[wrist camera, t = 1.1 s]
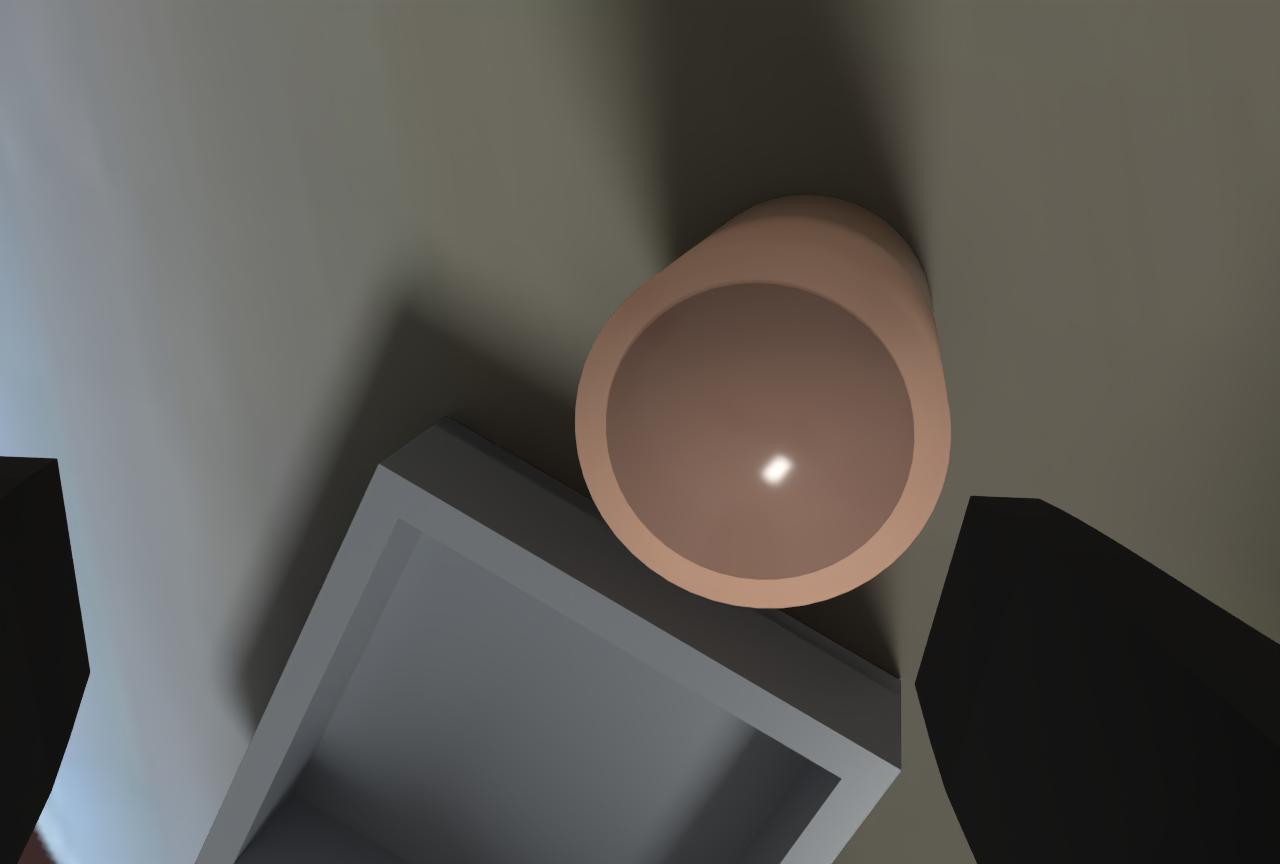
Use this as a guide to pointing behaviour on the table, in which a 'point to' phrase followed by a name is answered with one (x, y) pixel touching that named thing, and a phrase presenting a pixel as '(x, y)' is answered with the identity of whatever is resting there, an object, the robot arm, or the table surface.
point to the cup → (771, 407)
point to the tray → (545, 697)
